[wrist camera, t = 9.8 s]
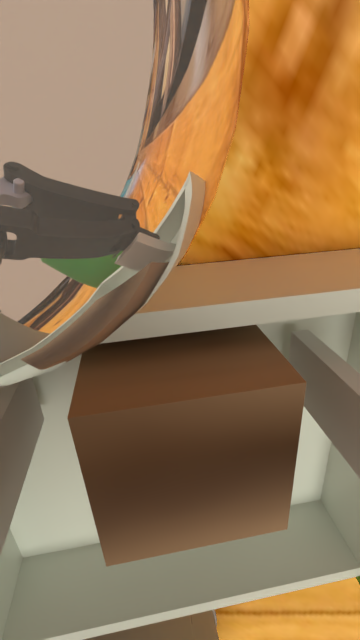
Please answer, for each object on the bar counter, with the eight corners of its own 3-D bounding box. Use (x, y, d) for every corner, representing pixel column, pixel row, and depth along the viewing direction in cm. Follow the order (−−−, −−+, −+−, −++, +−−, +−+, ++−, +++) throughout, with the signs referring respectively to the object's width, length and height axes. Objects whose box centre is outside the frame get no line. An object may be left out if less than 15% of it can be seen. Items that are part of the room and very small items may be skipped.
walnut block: (90, 316, 13) (67, 418, 8) (234, 299, 14) (306, 382, 8) (112, 429, 16) (106, 566, 10) (232, 410, 16) (287, 529, 11)
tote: (15, 557, 19) (-15, 661, 15) (-106, 293, 12) (-221, 353, 8) (325, 497, 21) (372, 573, 17) (375, 246, 14) (473, 275, 10)
